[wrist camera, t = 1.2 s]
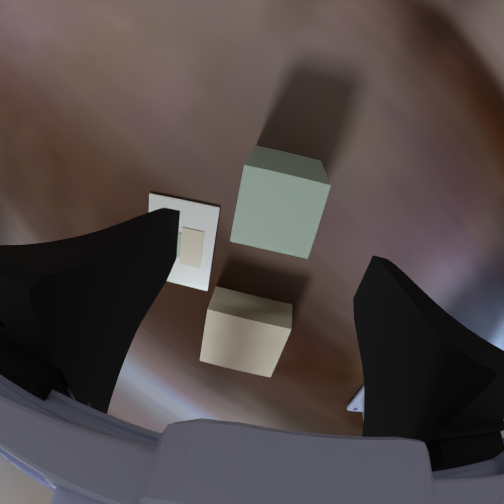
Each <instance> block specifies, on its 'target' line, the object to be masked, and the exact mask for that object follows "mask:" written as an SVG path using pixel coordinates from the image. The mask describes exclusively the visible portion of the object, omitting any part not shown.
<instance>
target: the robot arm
mask: <svg viewBox="0 0 504 504" xmlns="http://www.w3.org/2000/svg"><path fill="white" fill-rule="evenodd" d="M179 218H180V211H179V210H174V209H169V208H160V209H157V210H154V211H151V212H149V213H146V214H144V215H141V216H138V217H136V218H133V219H131V220H128V221H126V222H123V223H120V224H117V225H114V226H111V227H109V228H106V229H103V230H100V231H96V232H93V233H89V234H86V235H82V236H78V237H74V238H68V239H63V240H58V241H52V242H45V243H37V244H27V245H0V455H1V456H2V457H3V458H5V459H6V460H7V461H9V462H10V463H11V464H13V465H14V466H16V467H17V468H19V469H20V470H22V471H23V472H25V473H26V474H28V475H29V476H31V477H32V478H34V479H35V480H37V481H39V482H40V483H42V484H43V485H45V486H47V487H49V488H50V489H52V490H54V491H55V492H54V494H53V497H52V499H51V502H50V504H504V438H503V439H502V436H501V433H500V431H502V430H504V420H503V419H504V351H503V350H501V349H499V348H498V347H496V346H494V345H492V344H491V343H489V342H487V341H486V340H484V339H482V338H481V337H479V336H478V335H476V334H475V333H473V332H472V331H470V330H469V329H467V328H466V327H465V326H463V325H462V324H461V323H459V322H458V321H457V320H456V319H454V318H453V317H452V316H451V315H449V314H448V313H447V312H446V311H444V310H443V309H442V308H441V307H440V306H439V305H438V304H436V303H435V302H434V301H433V300H432V299H431V298H430V297H429V296H428V295H427V294H426V293H425V292H423V291H422V290H421V289H420V288H419V287H418V286H417V285H416V284H415V283H414V282H413V281H412V280H411V279H410V278H409V277H408V276H407V275H406V274H405V273H404V272H403V271H401V270H400V269H399V268H398V267H397V266H396V265H395V264H393V263H392V262H391V261H389V260H388V259H385V258H381V257H377V256H372V259H371V261H370V263H369V265H368V268H367V270H366V272H365V274H364V277H363V279H362V281H361V283H360V285H359V287H358V290H357V292H356V294H355V296H354V298H353V299H354V321H355V327H356V332H357V338H358V343H359V349H360V355H361V360H362V366H363V375H364V386H363V387H362V388H361V389H360V391H359V392H358V393H357V395H356V396H355V397H354V398H353V400H352V401H351V402H350V403H349V404H348V406H347V410H348V411H359V412H363V420H364V424H363V435H362V437H361V436H340V435H326V434H315V433H305V432H297V431H289V430H281V429H274V428H268V427H262V426H256V425H250V424H245V423H240V422H229V421H220V420H211V419H203V418H201V419H195V420H188V421H181V422H175V423H172V424H169V425H167V427H166V428H165V430H164V431H163V432H162V433H158V432H155V431H152V430H149V429H146V428H143V427H140V426H137V425H134V424H131V423H129V422H126V421H123V420H120V419H118V418H115V417H113V416H110V415H108V414H107V411H108V407H109V404H110V400H111V397H112V394H113V391H114V388H115V385H116V382H117V379H118V376H119V373H120V370H121V367H122V365H123V362H124V360H125V357H126V354H127V352H128V349H129V347H130V345H131V342H132V340H133V338H134V335H135V333H136V331H137V329H138V327H139V325H140V323H141V321H142V320H143V318H144V316H145V315H146V313H147V311H148V310H149V308H150V307H151V305H152V303H153V302H154V300H155V298H156V297H157V295H158V294H159V292H160V290H161V289H162V287H163V285H164V284H165V282H166V280H167V279H168V276H169V274H170V272H171V270H172V268H173V265H174V263H175V261H176V257H177V243H178V230H179Z"/></svg>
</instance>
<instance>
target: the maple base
mask: <svg viewBox="0 0 504 504" xmlns="http://www.w3.org/2000/svg"><path fill="white" fill-rule="evenodd" d="M291 329H292V304H288V303H283V302H279V301H275V300H270V299H266V298H262V297H258V296H254V295H249V294H245V293H241V292H237V291H233V290H229V289H225V288H221V287H217V286H216V287H215V290H214V293H213V296H212V298H211V301H210V304H209V307H208V310H207V316H206V322H205V329H204V335H203V342H202V349H201V355H200V361H203V362H207V363H210V364H214V365H218V366H222V367H226V368H231V369H235V370H239V371H243V372H248V373H252V374H257V375H262V376H267V377H271V375H272V373H273V370H274V368H275V366H276V364H277V362H278V359H279V357H280V355H281V353H282V350H283V348H284V346H285V343H286V341H287V339H288V336H289V334H290V332H291Z"/></svg>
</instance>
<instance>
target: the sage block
mask: <svg viewBox="0 0 504 504" xmlns="http://www.w3.org/2000/svg"><path fill="white" fill-rule="evenodd" d="M330 187H331V184H330V182H329V179H328V177H327V174H326V172H325V169H324V167H323V164H322V162H321V161H320V160H316V159H313V158H309V157H305V156H301V155H297V154H292V153H288V152H284V151H280V150H275V149H271V148H266V147H261V146H257V145H256V146H255V148H254V149H253V151H252V153H251V154H250V156H249V158H248V159H247V161H246V163H245V164H244V169H243V174H242V179H241V184H240V190H239V195H238V200H237V206H236V211H235V217H234V222H233V228H232V234H231V239H230V241H231V242H235V243H240V244H244V245H249V246H253V247H257V248H262V249H266V250H271V251H275V252H279V253H284V254H288V255H293V256H297V257H301V258H306V259H308V257H309V254H310V251H311V247H312V244H313V241H314V238H315V235H316V232H317V229H318V226H319V223H320V219H321V216H322V213H323V210H324V207H325V203H326V200H327V197H328V193H329V190H330Z"/></svg>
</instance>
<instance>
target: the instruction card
mask: <svg viewBox="0 0 504 504" xmlns="http://www.w3.org/2000/svg"><path fill="white" fill-rule="evenodd" d="M160 208H169V209H174V210H179V211H180V218H179V230H178V243H177V257H176V261H175V263H174V265H173V268H172V270H171V272H170V274H169V276H168V279H167V280H166V281H169V282H173V283H177V284H181V285H185V286H188V287H192V288H196V289H201V290H205V291H208V286H209V279H210V272H211V265H212V258H213V251H214V244H215V237H216V231H217V224H218V218H219V211H220V207H216V206H211V205H207V204H202V203H197V202H192V201H188V200H183V199H178V198H173V197H168V196H163V195H158V194H153V193H150V194H149V212H151V211H154V210H157V209H160Z"/></svg>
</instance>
